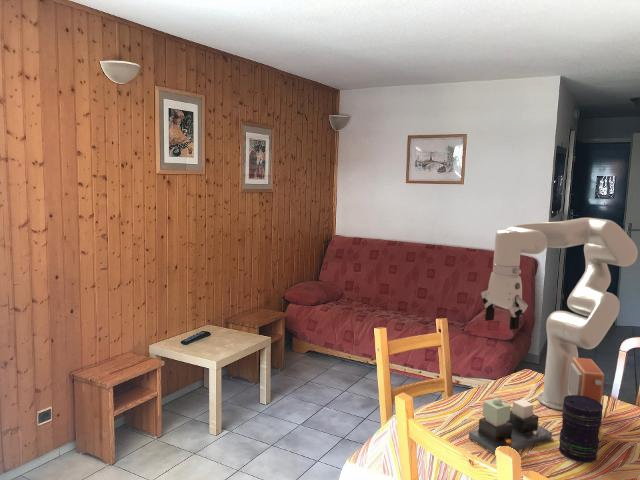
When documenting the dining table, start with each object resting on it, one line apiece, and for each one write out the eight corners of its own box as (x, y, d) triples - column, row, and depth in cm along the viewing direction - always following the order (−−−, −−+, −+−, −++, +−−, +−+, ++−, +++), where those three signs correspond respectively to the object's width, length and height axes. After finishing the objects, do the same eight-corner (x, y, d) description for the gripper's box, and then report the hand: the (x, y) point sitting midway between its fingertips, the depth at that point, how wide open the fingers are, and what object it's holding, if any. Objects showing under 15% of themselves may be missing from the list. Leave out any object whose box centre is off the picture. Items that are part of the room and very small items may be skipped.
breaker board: (521, 422, 165) (522, 404, 164) (551, 438, 155) (553, 419, 154) (468, 438, 154) (470, 418, 153) (497, 456, 145) (499, 436, 144)
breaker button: (521, 414, 160) (522, 399, 160) (531, 420, 157) (533, 404, 156) (511, 417, 158) (513, 401, 158) (522, 423, 155) (524, 407, 154)
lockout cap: (495, 412, 156) (496, 394, 155) (509, 420, 151) (511, 401, 150) (482, 415, 153) (483, 397, 152) (496, 423, 149) (497, 404, 148)
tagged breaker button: (494, 429, 155) (495, 413, 155) (505, 436, 152) (506, 419, 151) (484, 432, 154) (485, 416, 153) (494, 439, 150) (496, 422, 149)
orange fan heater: (585, 423, 166) (600, 447, 151) (561, 420, 167) (574, 444, 153) (592, 357, 163) (608, 376, 148) (568, 355, 164) (581, 373, 150)
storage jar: (592, 446, 152) (597, 397, 149) (602, 465, 142) (608, 413, 140) (554, 441, 154) (559, 393, 152) (562, 459, 144) (567, 408, 142)
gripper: (537, 274, 156) (532, 331, 158) (493, 264, 171) (488, 315, 173) (520, 276, 152) (515, 334, 154) (475, 265, 167) (471, 318, 169)
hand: (501, 324), depth 164 cm, fingers open, 9 cm apart
